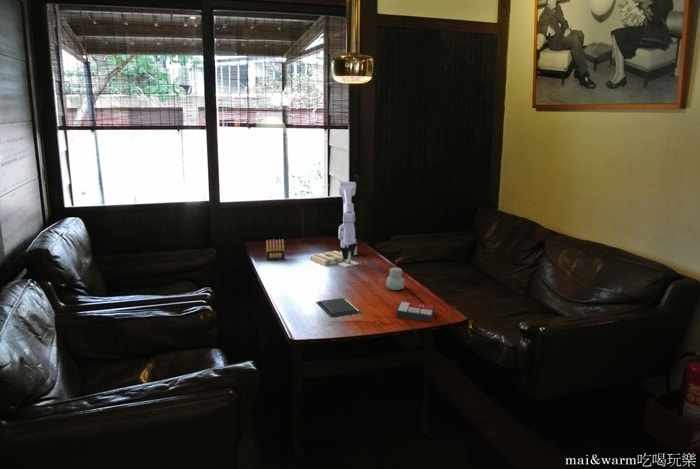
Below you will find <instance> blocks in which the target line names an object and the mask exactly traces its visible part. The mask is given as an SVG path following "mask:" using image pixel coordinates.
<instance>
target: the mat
mask: <svg viewBox="0 0 700 469" xmlns="http://www.w3.org/2000/svg"><path fill="white" fill-rule="evenodd" d="M337 265H338V266H341V267H343V268H348V267H353V266H357V265H360V262H357V261H354V260H352V259H351V264H346V263H345V262H342V263H337Z"/></svg>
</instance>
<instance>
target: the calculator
mask: <svg viewBox="0 0 700 469" xmlns="http://www.w3.org/2000/svg"><path fill="white" fill-rule="evenodd" d="M395 314H396V317H395V318H396V319H400V318H407V319H406V320H411V319H416V320H415V321H418V320H424V321H423V322H427V321H433V319H432V318H434V315H435V306H434V305H430V304H429V305H428V304H422V303H416V302H411V303H410V302H406V301H401V302H399V305H398V307H397V310H396V313H395ZM433 314H434V315H433Z"/></svg>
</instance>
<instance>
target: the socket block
mask: <svg viewBox="0 0 700 469" xmlns="http://www.w3.org/2000/svg"><path fill="white" fill-rule="evenodd" d="M340 252H341V251H338V250H331V251H326V252H321V253H317V254H312V255H311V254H310V257H309V258H310V259H309V261H311V262H313V263H316V264H318V265H320V266H324V267H326V266H327V267H328V266H331V265H332V266H333V265H338V263H342V262H345V259H343V255H342V253H340Z"/></svg>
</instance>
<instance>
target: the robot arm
mask: <svg viewBox="0 0 700 469" xmlns="http://www.w3.org/2000/svg"><path fill="white" fill-rule="evenodd" d="M356 190H357V183H356V182H355V181H339V182H338V194H339V196H340V197H342V200H343V202H342V204H343V205H342V206H343V207H342V208H343V209H342V211H343V212H342V213H343V214H342V222H343V223H342V224H340V225H339V226H338V240H340V246H339V250H340V251H339V252H340V253H342V255H343V259H347V258H348V252H349V251H351V257H354V256H355V255H358V253H357V252H358V243H357V239H356V227H355V222H356V214H355V210H354V206H355V204H354V203H353V202H352V199H353V198H352V197H353V196H355V195H356Z"/></svg>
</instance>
